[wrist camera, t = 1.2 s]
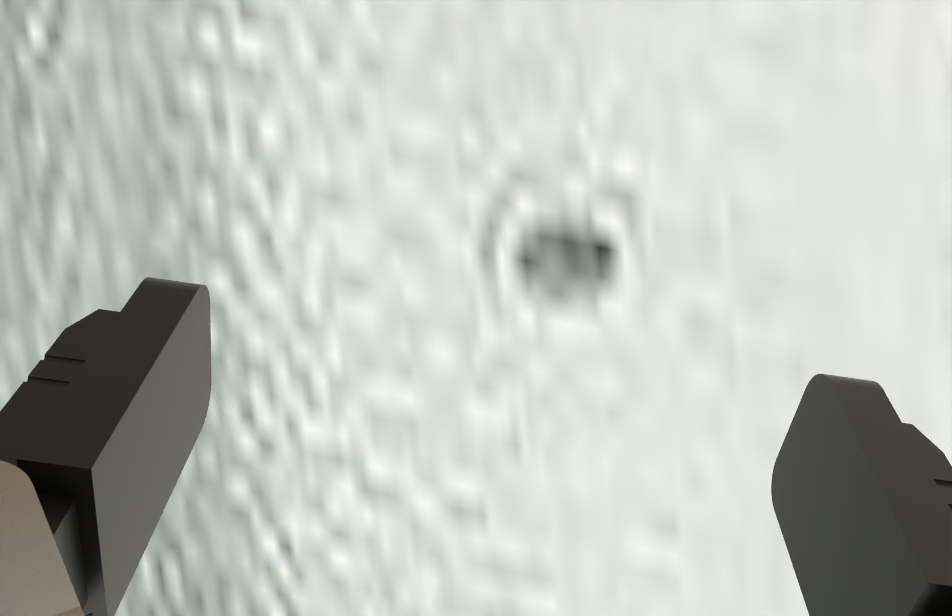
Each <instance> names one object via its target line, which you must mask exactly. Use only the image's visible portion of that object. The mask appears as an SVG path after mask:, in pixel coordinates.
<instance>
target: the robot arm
mask: <svg viewBox="0 0 952 616" xmlns="http://www.w3.org/2000/svg"><path fill="white" fill-rule="evenodd" d="M210 392H211V334H210V297H209V291H208V289H207V287H206V286H205V285H199V284H192V283H185V282H178V281H171V280H164V279H157V278H150V277H148V278H145V279H144V280H143V281H142V282H141V284H140V285H139V287H138V288H137V289H136V291H135V292H134V294H133V295H132V296H131V298H130V299H129V301H128V302H127V303H126V305H125V306H124V308H123V309H122V310H121V312H116V311H109V310H102V309H98V310H97V311H95V312H93V313H91V314H90V315H88V316H86V317H85V318H83V319H81V320H80V321H78V322H76V323H74V324H73V325H71V326H69V327H68V328H66V329H65V330H64V331H63V332H62V333H61V335H60V336H59V337H58V339H57V340H56V341H55V342H54V344H53V345H52V346H51V347H50V349H49V350H48V351H47V353H46V354H45V358H44V360H40V362H39V363H38V364H37V365H36V367H35V368H34V369H33V370H32V372H31V373H30V374H29V376H28V381H27V382H23V383H22V384H21V386H20V387H19V388H18V390H17V391H16V392H15V393H14V395H13V396H12V397H11V399H10V400H9V401H8V402H7V404H6V405H5V406H4V407H3V409H2V410H1V411H0V616H114V615H115V613H116V611H117V609H118V606H119V604H120V602H121V600H122V598H123V596H124V594H125V591H126V589H127V587H128V585H129V583H130V581H131V579H132V577H133V574H134V572H135V570H136V568H137V566H138V564H139V562H140V559H141V557H142V555H143V553H144V551H145V549H146V547H147V545H148V542H149V540H150V538H151V536H152V534H153V532H154V530H155V527H156V525H157V523H158V521H159V519H160V517H161V515H162V512H163V510H164V508H165V506H166V504H167V502H168V500H169V498H170V495H171V493H172V491H173V489H174V487H175V485H176V483H177V480H178V478H179V476H180V474H181V472H182V470H183V468H184V466H185V463H186V461H187V459H188V457H189V455H190V453H191V451H192V448H193V446H194V444H195V442H196V440H197V438H198V436H199V433H200V431H201V429H202V427H203V424H204V421H205V418H206V414H207V410H208V405H209V400H210ZM771 492H772V502H773V507H774V510H775V513H776V516H777V519H778V522H779V525H780V528H781V531H782V534H783V537H784V540H785V543H786V546H787V549H788V552H789V555H790V558H791V561H792V564H793V567H794V570H795V573H796V576H797V579H798V582H799V585H800V588H801V591H802V594H803V597H804V600H805V603H806V606H807V609H808V612H809V615H810V616H952V466H951V465H950V463H949V461H948V460H947V458H946V456H945V455H944V453H943V452H942V451H941V450H940V449H939V448H938V447H937V446H935V445H934V444H933V443H932V442H931V441H930V440H929V439H928V438H927V437H926V436H924V435H923V434H922V433H921V432H920V431H919V430H918V429H917V428H916V427H915V426H913V425H912V424H906V423H902V422H901V420H900V419H899V417H898V415H897V413H896V411H895V410H894V408H893V406H892V404H891V403H890V401H889V399H888V397H887V396H886V394H885V392H884V390H883V389H882V387H881V386H880V385H879V384H878V383H877V382H874V381H868V380H861V379H854V378H847V377H840V376H833V375H826V374H817V375H815V376H814V377H813V378H812V379H811V380H810V382H809V383H808V385H807V387H806V389H805V392H804V394H803V396H802V399H801V401H800V404H799V406H798V408H797V411H796V413H795V416H794V418H793V420H792V423H791V425H790V428H789V430H788V433H787V435H786V437H785V440H784V442H783V445H782V447H781V449H780V452H779V454H778V457H777V459H776V462H775V465H774V469H773V475H772V486H771Z"/></svg>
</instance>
